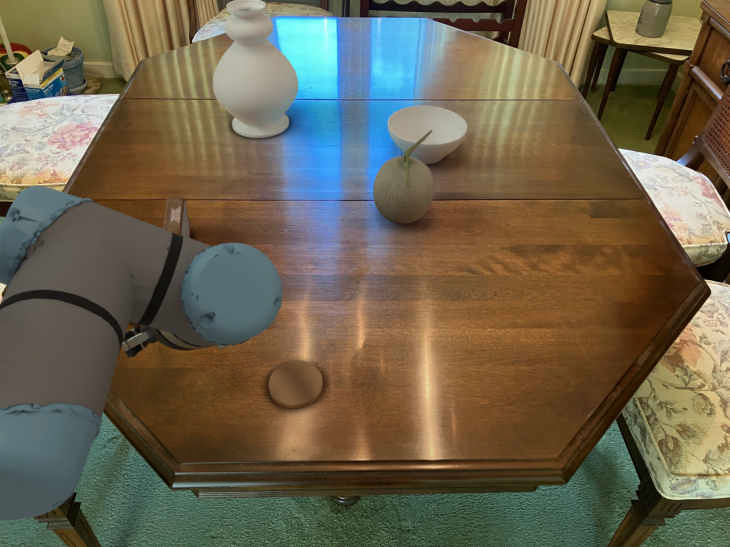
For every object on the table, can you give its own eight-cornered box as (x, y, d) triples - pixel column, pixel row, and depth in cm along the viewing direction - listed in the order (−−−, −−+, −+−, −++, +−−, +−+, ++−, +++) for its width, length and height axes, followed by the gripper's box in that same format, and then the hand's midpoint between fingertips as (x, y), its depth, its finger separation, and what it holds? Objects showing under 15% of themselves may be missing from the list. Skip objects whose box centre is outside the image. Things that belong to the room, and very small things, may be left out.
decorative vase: (296, 145, 116) (286, 22, 99) (212, 143, 116) (188, 20, 99) (304, 106, 129) (297, -9, 112) (229, 104, 129) (210, -11, 112)
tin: (176, 227, 96) (164, 186, 90) (194, 225, 96) (184, 185, 90) (169, 287, 85) (156, 245, 79) (190, 285, 85) (179, 243, 80)
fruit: (372, 238, 94) (374, 162, 84) (372, 198, 103) (374, 125, 93) (433, 239, 94) (443, 163, 84) (428, 199, 103) (436, 127, 93)
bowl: (396, 179, 108) (398, 147, 103) (378, 138, 119) (379, 108, 114) (473, 172, 110) (479, 140, 105) (449, 132, 121) (453, 102, 117)
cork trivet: (290, 418, 69) (290, 414, 68) (258, 383, 72) (257, 380, 72) (333, 387, 72) (333, 383, 71) (300, 355, 76) (300, 351, 75)
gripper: (151, 381, 50) (121, 378, 70) (267, 310, 57) (209, 327, 77) (108, 309, 49) (90, 328, 70) (231, 246, 56) (182, 280, 76)
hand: (153, 327), depth 73 cm, fingers closed
